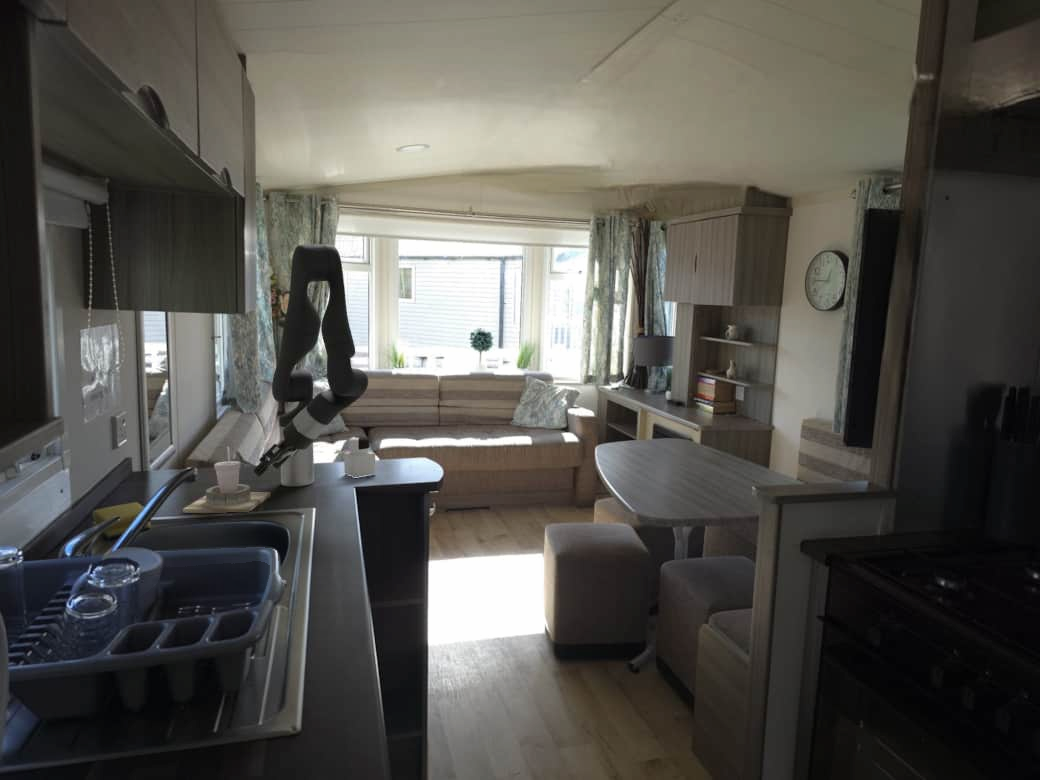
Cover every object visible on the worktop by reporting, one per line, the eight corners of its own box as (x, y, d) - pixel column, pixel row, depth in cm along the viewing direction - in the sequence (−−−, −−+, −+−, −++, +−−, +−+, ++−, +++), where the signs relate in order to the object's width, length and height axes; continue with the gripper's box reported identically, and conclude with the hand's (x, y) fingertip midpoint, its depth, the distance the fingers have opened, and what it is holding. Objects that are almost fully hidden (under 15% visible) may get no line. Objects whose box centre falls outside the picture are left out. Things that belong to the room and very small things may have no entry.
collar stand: (211, 495, 182) (210, 481, 182) (270, 495, 182) (270, 481, 182) (183, 512, 166) (182, 497, 166) (247, 512, 167) (247, 497, 166)
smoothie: (233, 503, 171) (230, 448, 169) (210, 502, 172) (207, 448, 171) (247, 497, 177) (244, 444, 176) (225, 496, 178) (222, 444, 177)
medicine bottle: (365, 471, 212) (364, 434, 210) (375, 475, 206) (375, 437, 205) (344, 474, 207) (343, 436, 206) (354, 479, 202) (353, 440, 200)
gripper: (309, 412, 176) (270, 453, 179) (281, 420, 162) (239, 465, 165) (328, 433, 175) (289, 474, 178) (302, 443, 161) (260, 487, 164)
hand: (265, 469), depth 171 cm, fingers open, 8 cm apart
